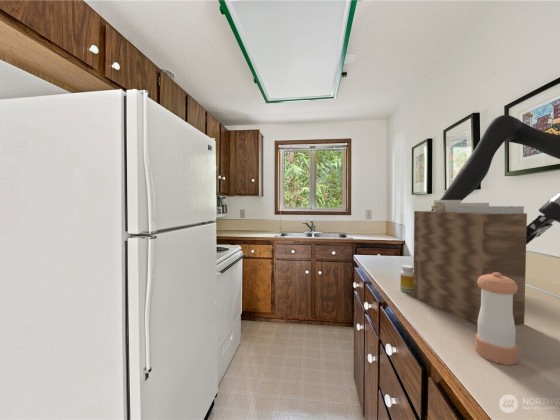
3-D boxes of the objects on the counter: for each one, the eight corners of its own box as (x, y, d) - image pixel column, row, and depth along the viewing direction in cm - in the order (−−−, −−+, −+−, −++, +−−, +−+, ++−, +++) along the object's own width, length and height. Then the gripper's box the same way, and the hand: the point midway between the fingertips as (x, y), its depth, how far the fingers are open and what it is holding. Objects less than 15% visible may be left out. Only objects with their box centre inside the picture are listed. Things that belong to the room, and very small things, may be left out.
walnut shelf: (413, 296, 93) (414, 211, 92) (442, 292, 96) (443, 210, 95) (488, 331, 68) (491, 214, 67) (524, 324, 71) (526, 213, 71)
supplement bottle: (417, 293, 96) (417, 268, 96) (402, 292, 97) (402, 267, 97) (412, 288, 101) (412, 265, 101) (398, 287, 102) (398, 264, 102)
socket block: (456, 212, 78) (456, 206, 78) (482, 212, 81) (482, 205, 81) (494, 214, 68) (494, 206, 68) (523, 213, 71) (523, 206, 71)
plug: (428, 211, 87) (429, 200, 87) (475, 210, 93) (475, 200, 93) (442, 212, 82) (442, 200, 82) (490, 211, 88) (490, 199, 88)
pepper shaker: (467, 346, 60) (468, 268, 60) (494, 345, 61) (496, 268, 60) (495, 366, 53) (497, 278, 53) (526, 364, 54) (528, 277, 53)
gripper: (551, 203, 90) (513, 236, 96) (547, 195, 81) (505, 232, 87) (577, 216, 84) (535, 250, 91) (576, 209, 76) (529, 247, 82)
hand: (520, 241), depth 89 cm, fingers open, 8 cm apart
